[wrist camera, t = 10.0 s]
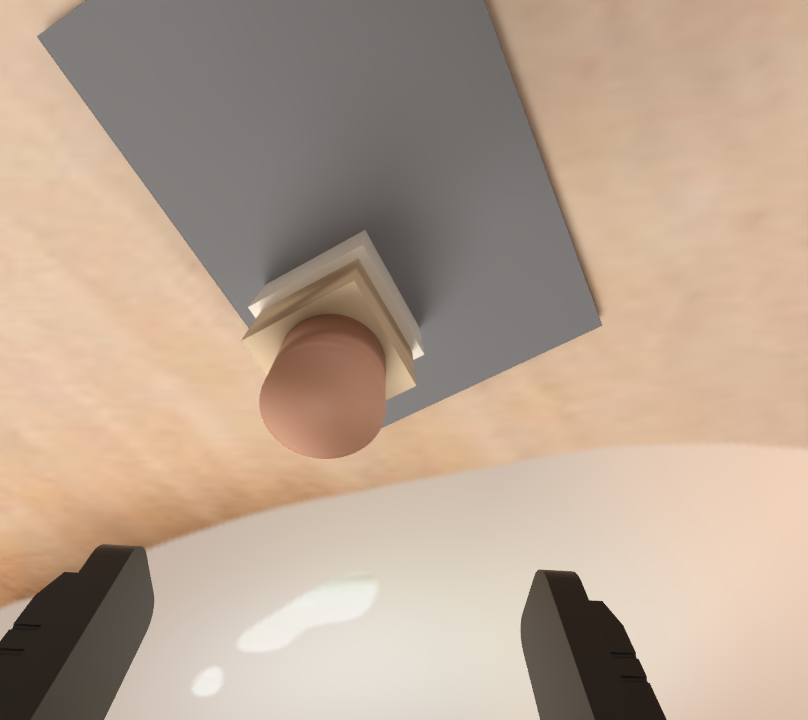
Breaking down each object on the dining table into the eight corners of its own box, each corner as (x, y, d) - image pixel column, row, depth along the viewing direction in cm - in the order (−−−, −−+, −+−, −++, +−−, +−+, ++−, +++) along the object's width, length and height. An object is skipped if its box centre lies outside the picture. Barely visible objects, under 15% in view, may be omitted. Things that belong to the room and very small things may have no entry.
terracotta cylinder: (351, 295, 21) (344, 329, 18) (404, 381, 23) (407, 427, 20) (257, 344, 22) (233, 386, 19) (316, 424, 24) (304, 475, 21)
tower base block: (365, 229, 28) (362, 244, 24) (419, 327, 31) (424, 354, 27) (264, 285, 29) (247, 307, 26) (325, 374, 32) (318, 406, 28)
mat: (400, -213, 21) (401, -229, 20) (596, 319, 32) (602, 325, 31) (49, 39, 24) (36, 36, 23) (337, 440, 36) (336, 448, 35)
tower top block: (358, 258, 25) (354, 280, 21) (412, 351, 27) (416, 385, 23) (260, 311, 26) (240, 341, 22) (320, 396, 28) (311, 435, 24)
